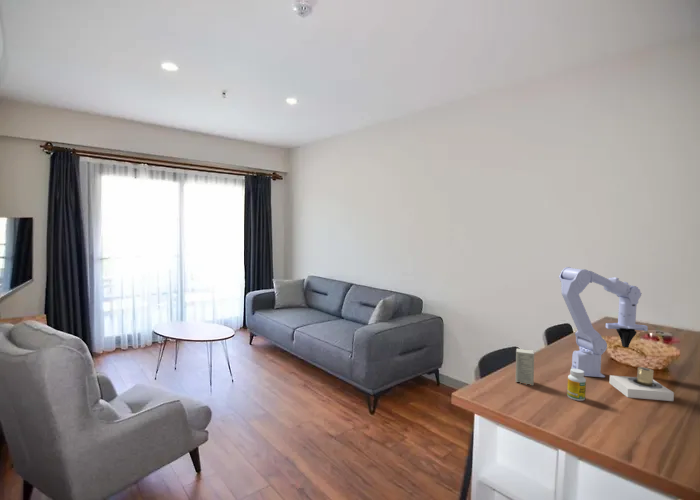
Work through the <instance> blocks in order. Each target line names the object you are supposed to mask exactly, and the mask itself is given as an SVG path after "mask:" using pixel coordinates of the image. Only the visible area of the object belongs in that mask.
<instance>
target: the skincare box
mask: <svg viewBox="0 0 700 500" xmlns="http://www.w3.org/2000/svg"><path fill="white" fill-rule="evenodd" d="M534 377H535V351H534V350H533V349H525V348H516V350H515V383H516V382H521V383H526V384H525V385H527V384H531V385H530V386H534V381H535V380H534V379H535V378H534ZM521 383H520V384H521Z"/></svg>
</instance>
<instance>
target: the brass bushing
mask: <svg viewBox="0 0 700 500" xmlns="http://www.w3.org/2000/svg"><path fill="white" fill-rule="evenodd" d="M636 377H637V384H640V385H643V386H648V387H652V386H653V380H654V369H651V368H649V367H645V366H644V367H642V366H639V367H637V375H636Z"/></svg>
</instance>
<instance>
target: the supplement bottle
mask: <svg viewBox="0 0 700 500" xmlns="http://www.w3.org/2000/svg"><path fill="white" fill-rule="evenodd" d="M569 371H570V372H569V374H568V376H567V390H566V395H567V397H568V398H569V399H571V400H573V401H577V402H582V401H585V399H586V389H587V379H586V377H585V376H584V371H583V370H580V369H571V368H570V370H569Z"/></svg>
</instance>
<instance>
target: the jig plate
mask: <svg viewBox="0 0 700 500" xmlns="http://www.w3.org/2000/svg"><path fill="white" fill-rule="evenodd" d="M609 384H610V385H611V386H612V387H614V389H616V390H618V391H619V392H620V393H622V395H624V396H625V397H626V398H630V399H631V398H632V399H642V400H643V399H645V400H655V401H666V402H667V401H668V402H674V398H675V396H674V395H675V392H674V391H672V390H671V389H669V388H667V387H666V386H664V385H663V384H661V383H659V382H658V381H656V380H655V379H653V386H652V387H648V386H643V385H640V384H637V376H624V375H623V376H622V375H611V374H610V375H609Z"/></svg>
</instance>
